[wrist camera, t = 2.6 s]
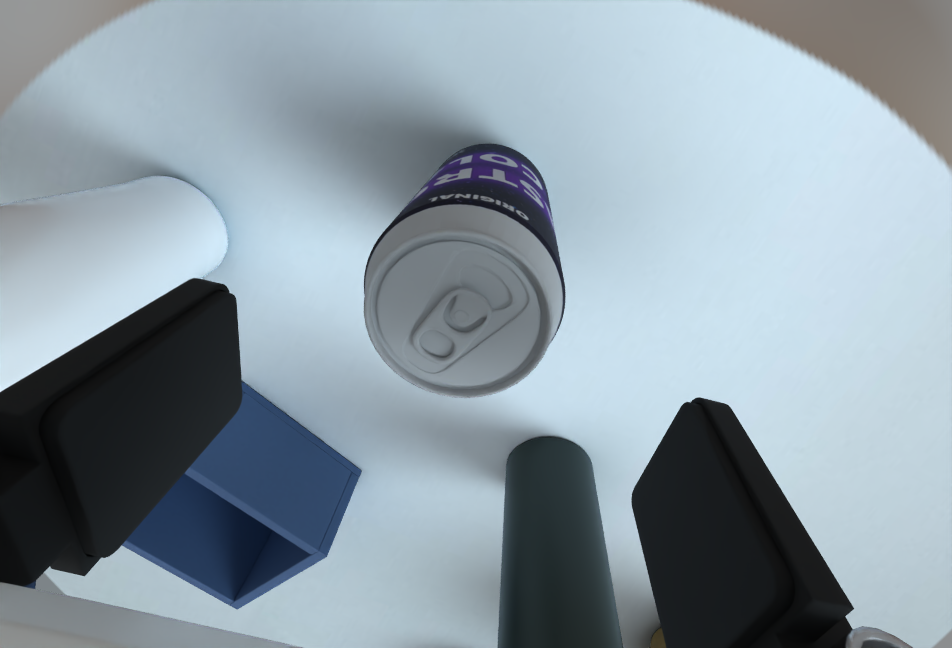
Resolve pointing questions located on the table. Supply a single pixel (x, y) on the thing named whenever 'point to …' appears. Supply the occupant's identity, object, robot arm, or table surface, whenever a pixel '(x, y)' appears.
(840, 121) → the table surface
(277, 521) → the blue open box
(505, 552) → the wine bottle
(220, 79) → the table surface
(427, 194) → the beverage can
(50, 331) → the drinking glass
